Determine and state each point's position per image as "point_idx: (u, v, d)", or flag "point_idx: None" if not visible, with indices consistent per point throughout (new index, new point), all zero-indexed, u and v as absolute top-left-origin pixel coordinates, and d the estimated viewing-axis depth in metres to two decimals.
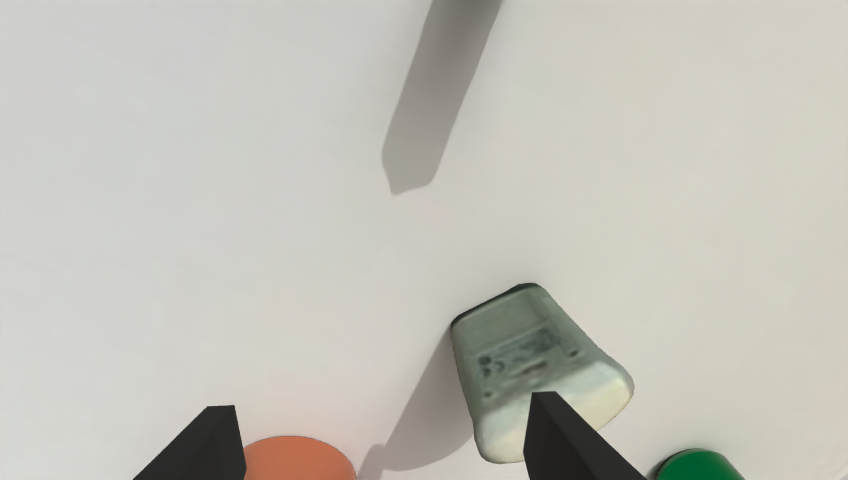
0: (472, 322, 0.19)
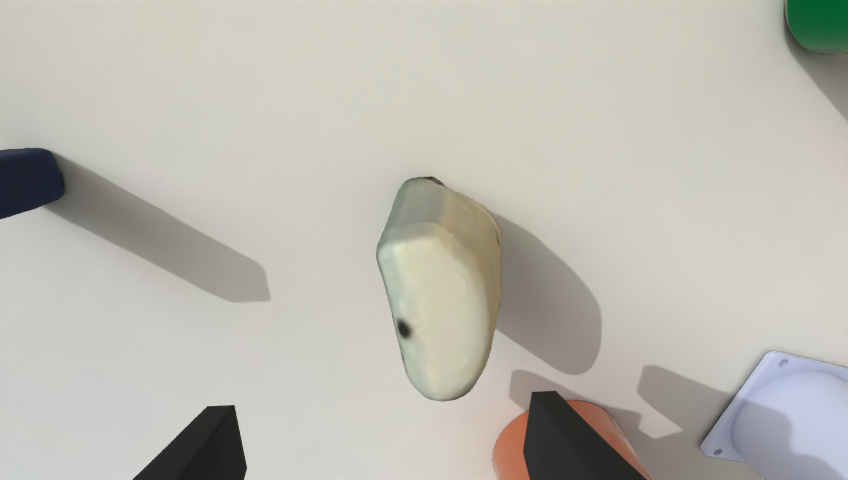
0: None
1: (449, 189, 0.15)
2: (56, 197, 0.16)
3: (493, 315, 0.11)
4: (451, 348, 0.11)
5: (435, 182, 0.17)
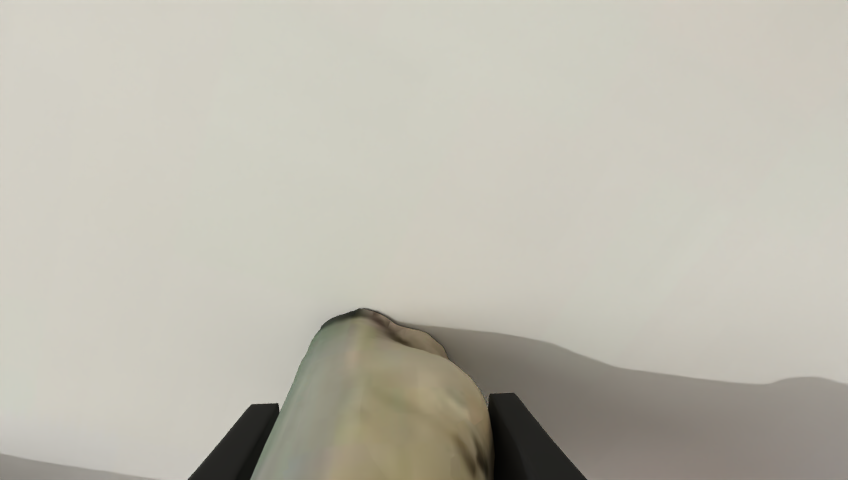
0: None
1: (374, 359, 0.08)
2: None
3: None
4: None
5: (366, 318, 0.10)
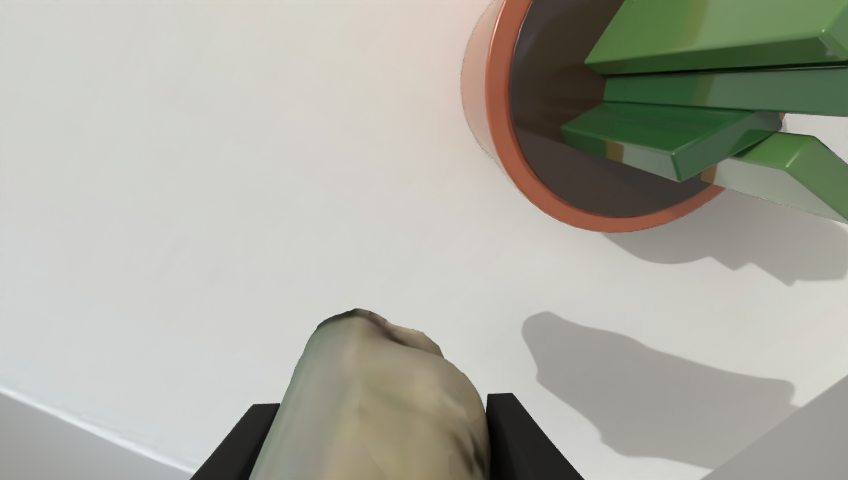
0: None
1: (371, 358, 0.08)
2: None
3: None
4: None
5: (362, 318, 0.10)
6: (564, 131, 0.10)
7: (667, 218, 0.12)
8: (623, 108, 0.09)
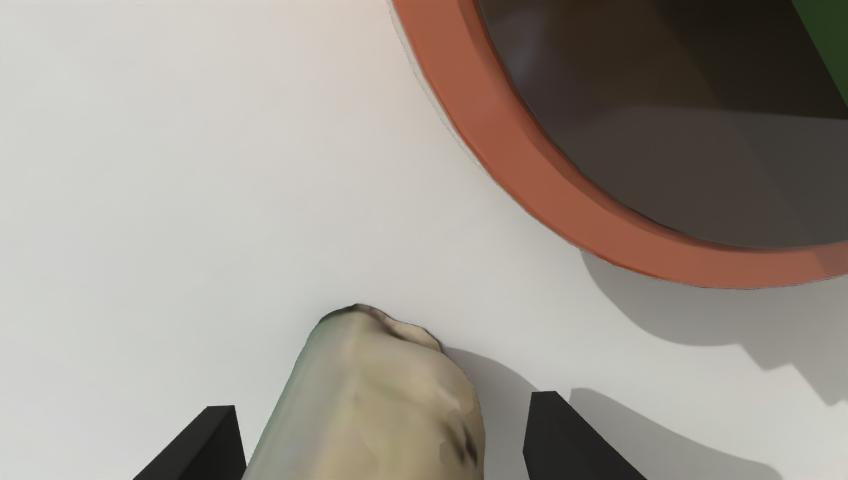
0: None
1: (369, 351, 0.09)
2: None
3: None
4: None
5: (363, 313, 0.11)
6: None
7: (806, 275, 0.04)
8: None
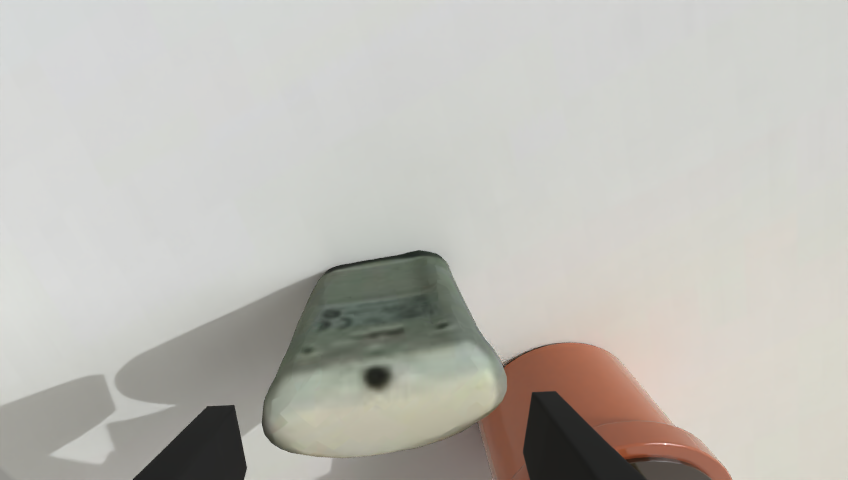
0: (345, 275, 0.15)
1: None
2: None
3: None
4: (352, 432, 0.09)
5: None
6: None
7: None
8: None
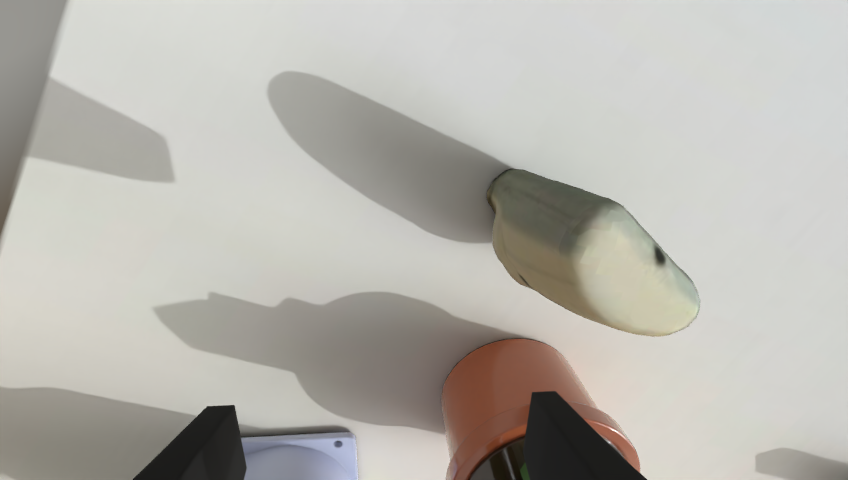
0: None
1: None
2: None
3: (579, 302, 0.12)
4: (618, 273, 0.11)
5: None
6: None
7: (506, 435, 0.16)
8: None
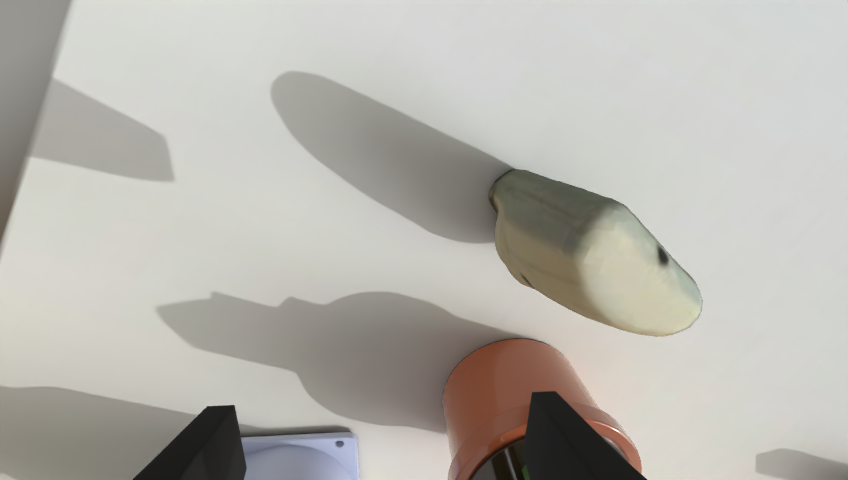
0: None
1: None
2: None
3: (582, 302, 0.12)
4: (621, 273, 0.11)
5: None
6: None
7: (508, 435, 0.16)
8: None
